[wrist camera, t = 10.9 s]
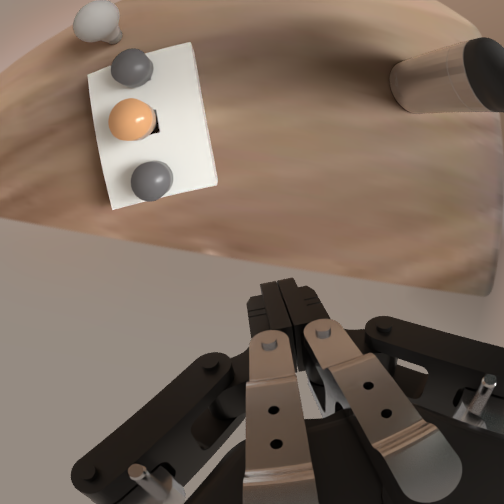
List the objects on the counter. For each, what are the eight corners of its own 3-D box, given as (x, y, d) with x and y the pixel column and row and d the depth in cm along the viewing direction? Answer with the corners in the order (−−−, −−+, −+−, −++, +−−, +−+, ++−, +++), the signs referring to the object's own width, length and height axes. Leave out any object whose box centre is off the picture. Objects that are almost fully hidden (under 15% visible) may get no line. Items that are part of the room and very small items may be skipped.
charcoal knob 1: (160, 62, 32) (144, 43, 24) (164, 90, 33) (149, 76, 25) (130, 71, 32) (109, 56, 24) (134, 98, 33) (112, 88, 25)
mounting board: (194, 53, 32) (190, 41, 28) (217, 180, 39) (216, 185, 34) (102, 81, 32) (87, 74, 27) (124, 202, 39) (112, 209, 34)
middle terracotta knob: (163, 104, 31) (145, 92, 24) (169, 136, 33) (152, 133, 25) (130, 113, 31) (105, 106, 23) (136, 145, 33) (112, 146, 25)
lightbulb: (131, 54, 31) (103, 29, 21) (94, 58, 30) (59, 38, 20) (139, 20, 29) (115, -12, 19) (102, 24, 28) (72, -2, 18)
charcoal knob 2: (176, 155, 37) (163, 157, 29) (183, 186, 38) (172, 196, 30) (146, 162, 37) (126, 167, 29) (153, 193, 38) (135, 205, 30)
